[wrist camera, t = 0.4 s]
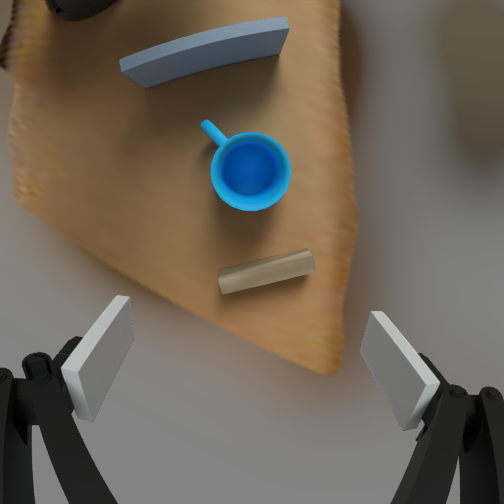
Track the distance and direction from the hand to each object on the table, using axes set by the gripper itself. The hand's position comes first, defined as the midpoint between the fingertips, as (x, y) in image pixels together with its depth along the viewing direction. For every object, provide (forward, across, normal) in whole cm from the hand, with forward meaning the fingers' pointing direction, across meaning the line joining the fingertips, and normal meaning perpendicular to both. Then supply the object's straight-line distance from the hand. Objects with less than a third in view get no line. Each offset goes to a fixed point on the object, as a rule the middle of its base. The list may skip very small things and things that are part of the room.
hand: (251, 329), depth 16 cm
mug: (+26, -1, +8) cm, 27 cm away
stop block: (+26, +3, -5) cm, 26 cm away
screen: (+26, -6, +21) cm, 34 cm away
